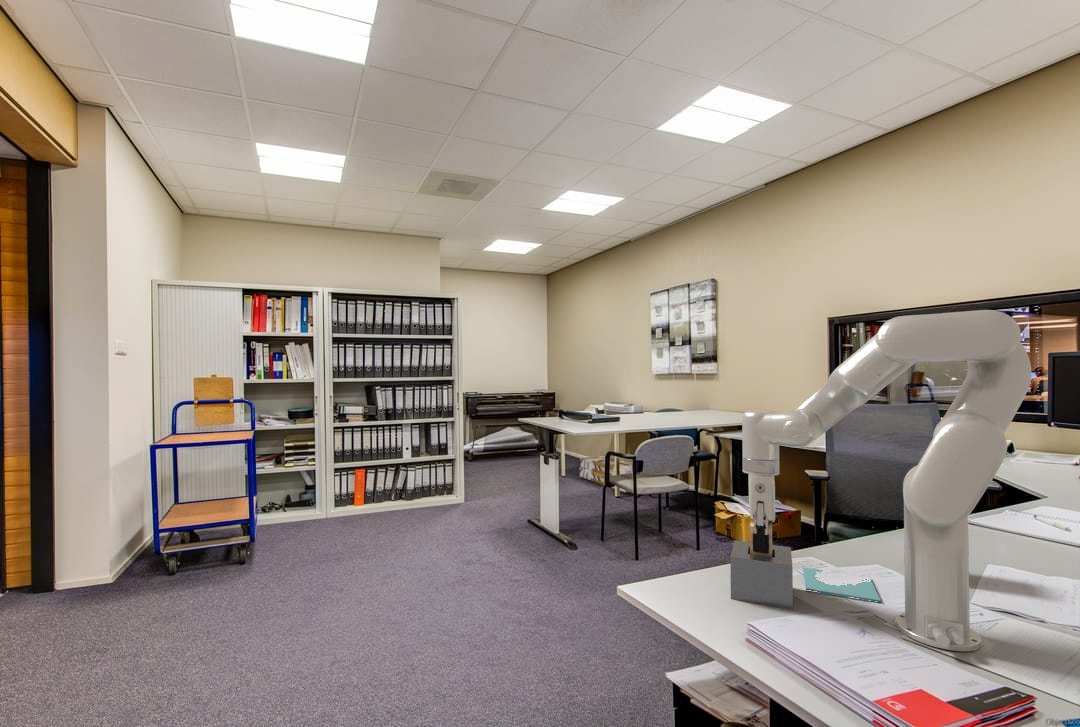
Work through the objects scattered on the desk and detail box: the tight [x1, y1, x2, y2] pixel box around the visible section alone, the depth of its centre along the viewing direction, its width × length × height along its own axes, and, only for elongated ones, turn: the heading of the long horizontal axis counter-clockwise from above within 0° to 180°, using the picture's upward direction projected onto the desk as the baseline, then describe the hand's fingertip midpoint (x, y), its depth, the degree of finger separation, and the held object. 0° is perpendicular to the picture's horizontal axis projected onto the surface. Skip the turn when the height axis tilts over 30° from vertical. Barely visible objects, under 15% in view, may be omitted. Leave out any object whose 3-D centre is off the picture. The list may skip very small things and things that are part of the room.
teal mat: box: [802, 566, 882, 603], centre depth 117 cm, size 14×14×1 cm
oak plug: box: [749, 520, 773, 557], centre depth 113 cm, size 4×4×11 cm
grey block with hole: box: [729, 539, 794, 610], centre depth 113 cm, size 12×12×9 cm
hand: (761, 547), depth 113 cm, fingers closed on oak plug, 4 cm apart
